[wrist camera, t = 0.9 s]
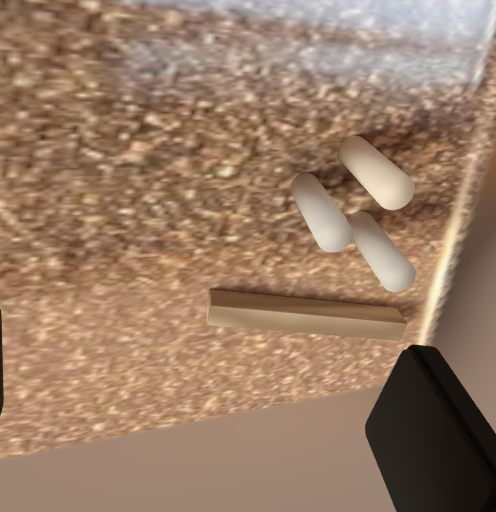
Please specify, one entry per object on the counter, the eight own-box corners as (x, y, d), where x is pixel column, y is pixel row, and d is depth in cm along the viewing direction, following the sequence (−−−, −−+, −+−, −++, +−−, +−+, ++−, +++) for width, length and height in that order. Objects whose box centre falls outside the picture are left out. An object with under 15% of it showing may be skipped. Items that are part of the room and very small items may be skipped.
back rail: (209, 289, 42) (211, 305, 39) (396, 307, 45) (407, 323, 43) (206, 307, 42) (207, 324, 40) (389, 324, 46) (399, 341, 44)
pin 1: (294, 171, 37) (322, 217, 30) (323, 175, 38) (358, 221, 30) (287, 199, 38) (312, 250, 31) (315, 203, 39) (346, 254, 31)
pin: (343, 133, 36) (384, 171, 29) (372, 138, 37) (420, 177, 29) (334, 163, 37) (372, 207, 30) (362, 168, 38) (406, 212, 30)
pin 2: (350, 209, 39) (389, 260, 32) (376, 213, 40) (420, 264, 33) (341, 234, 40) (377, 290, 33) (367, 238, 41) (408, 293, 34)
